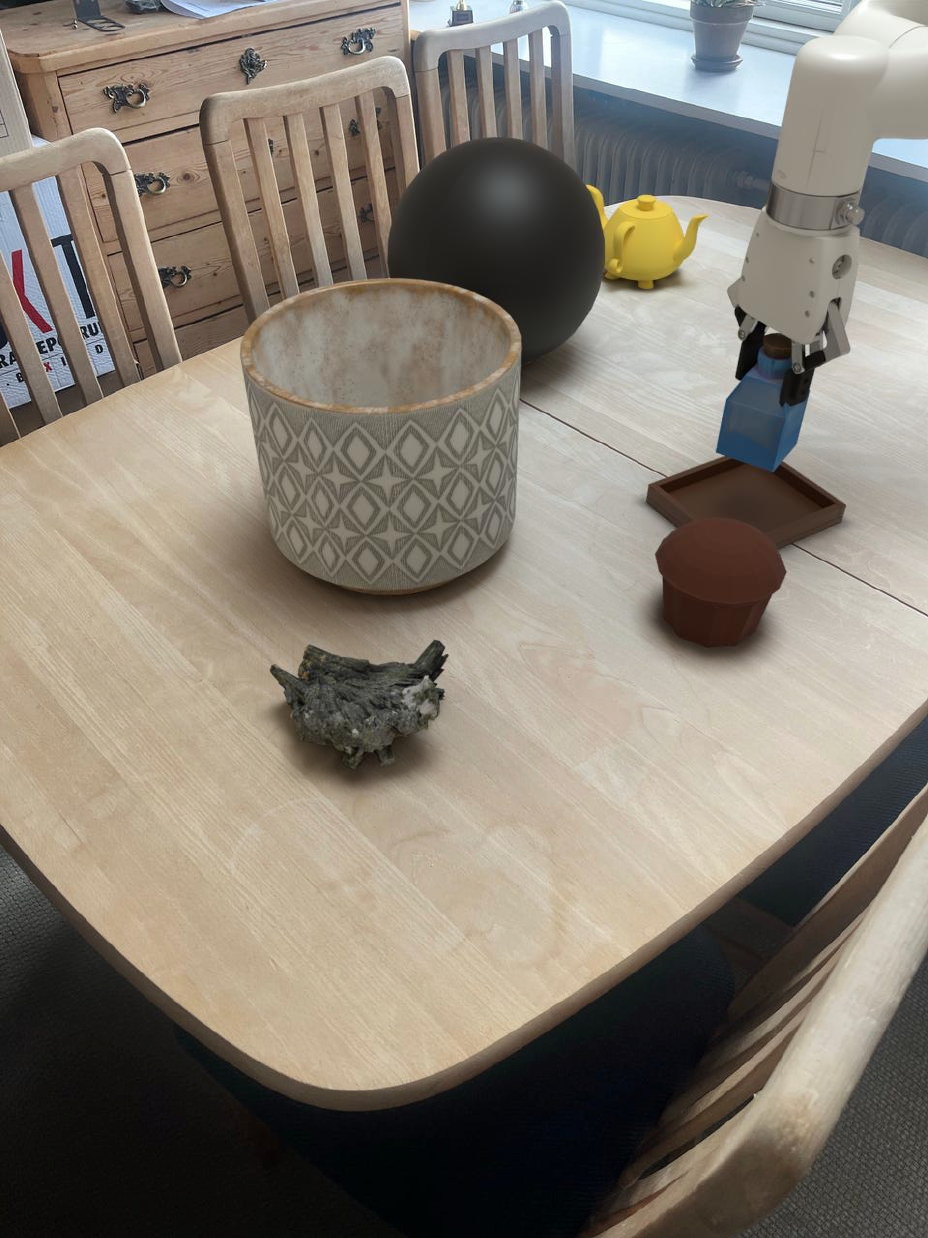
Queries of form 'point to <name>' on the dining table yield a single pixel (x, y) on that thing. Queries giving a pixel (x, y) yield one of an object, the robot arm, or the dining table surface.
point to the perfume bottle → (762, 411)
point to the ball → (505, 235)
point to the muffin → (717, 579)
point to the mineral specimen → (362, 700)
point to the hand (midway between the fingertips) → (770, 388)
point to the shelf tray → (748, 499)
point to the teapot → (644, 239)
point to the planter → (386, 430)
